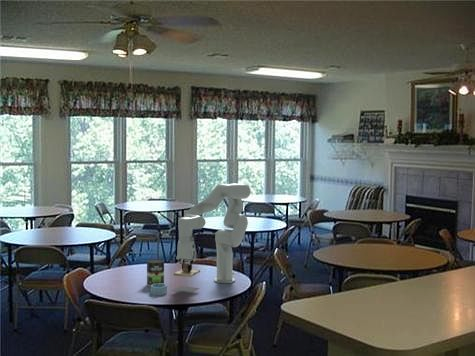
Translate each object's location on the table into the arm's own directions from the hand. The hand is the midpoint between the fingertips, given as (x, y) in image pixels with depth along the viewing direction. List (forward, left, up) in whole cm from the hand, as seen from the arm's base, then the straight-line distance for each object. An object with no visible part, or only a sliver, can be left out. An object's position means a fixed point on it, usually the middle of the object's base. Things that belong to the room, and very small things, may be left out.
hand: (186, 270), depth 322 cm
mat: (+1, 0, -11) cm, 11 cm away
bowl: (+13, -10, -11) cm, 20 cm away
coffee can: (-2, -22, -12) cm, 25 cm away
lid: (0, 0, -2) cm, 2 cm away
